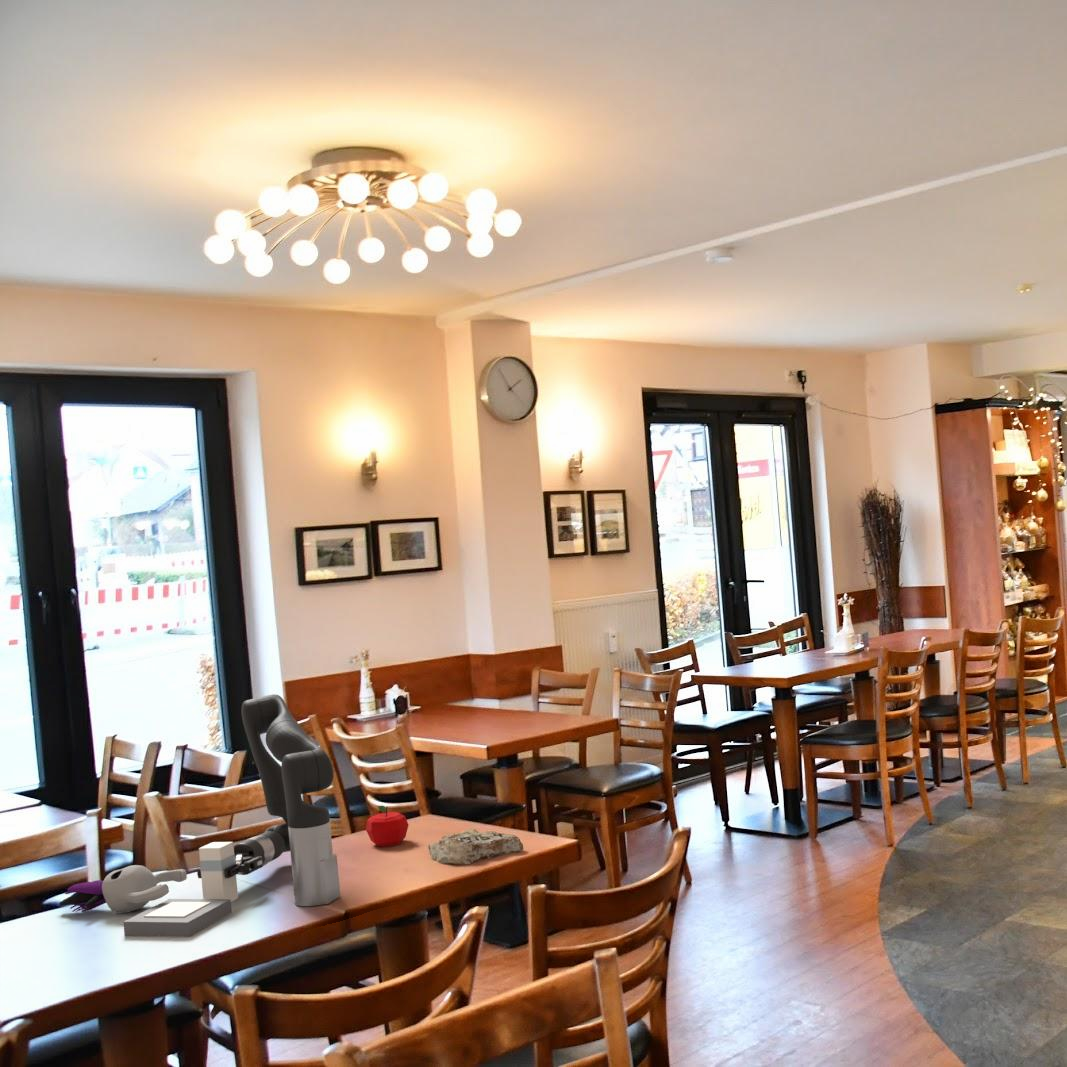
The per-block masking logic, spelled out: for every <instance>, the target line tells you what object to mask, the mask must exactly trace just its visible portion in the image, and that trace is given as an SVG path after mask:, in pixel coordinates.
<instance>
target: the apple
mask: <svg viewBox="0 0 1067 1067" xmlns="http://www.w3.org/2000/svg"><path fill="white" fill-rule="evenodd" d="M388 808H389V806H384V805H378V806H377V809H379V811H380V812H381V813H377V814H375V815H372V816H370V817H369V818H368V819H367V820H366V821H367V822H366V826H365V831H366V833H367V835H368V837H369V840H370V841H371V842H372V843H373V844H375V846H377V847H378V848H379V847H380V848H383V847H385V848H386V847H387V848H388V847H393V846H398V845H399V844H400V843H402V842H403V840H405V838H406V837H407V833H408V829H409V823H408V820H407V818H406V815H404V814H402V813H399V812H397V811H388Z"/></svg>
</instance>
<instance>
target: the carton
mask: <svg viewBox="0 0 1067 1067" xmlns="http://www.w3.org/2000/svg"><path fill="white" fill-rule="evenodd" d="M234 846H235V845H234V841H213V842H209V843H208V844H205V845H203V846H201V847H199V848H198V853H199V855H198V856H199V868H200V871H201V878H200V879H201V888H202V899H231V903H232V902H234V901H236V900H237V899H239V894H238V883H237V882H238V881H237V880H238V879H237V874H236V875H234V876H232V877H230V878H225V869H226V868H228V867H230V866H232V865H235V854H234Z"/></svg>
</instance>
